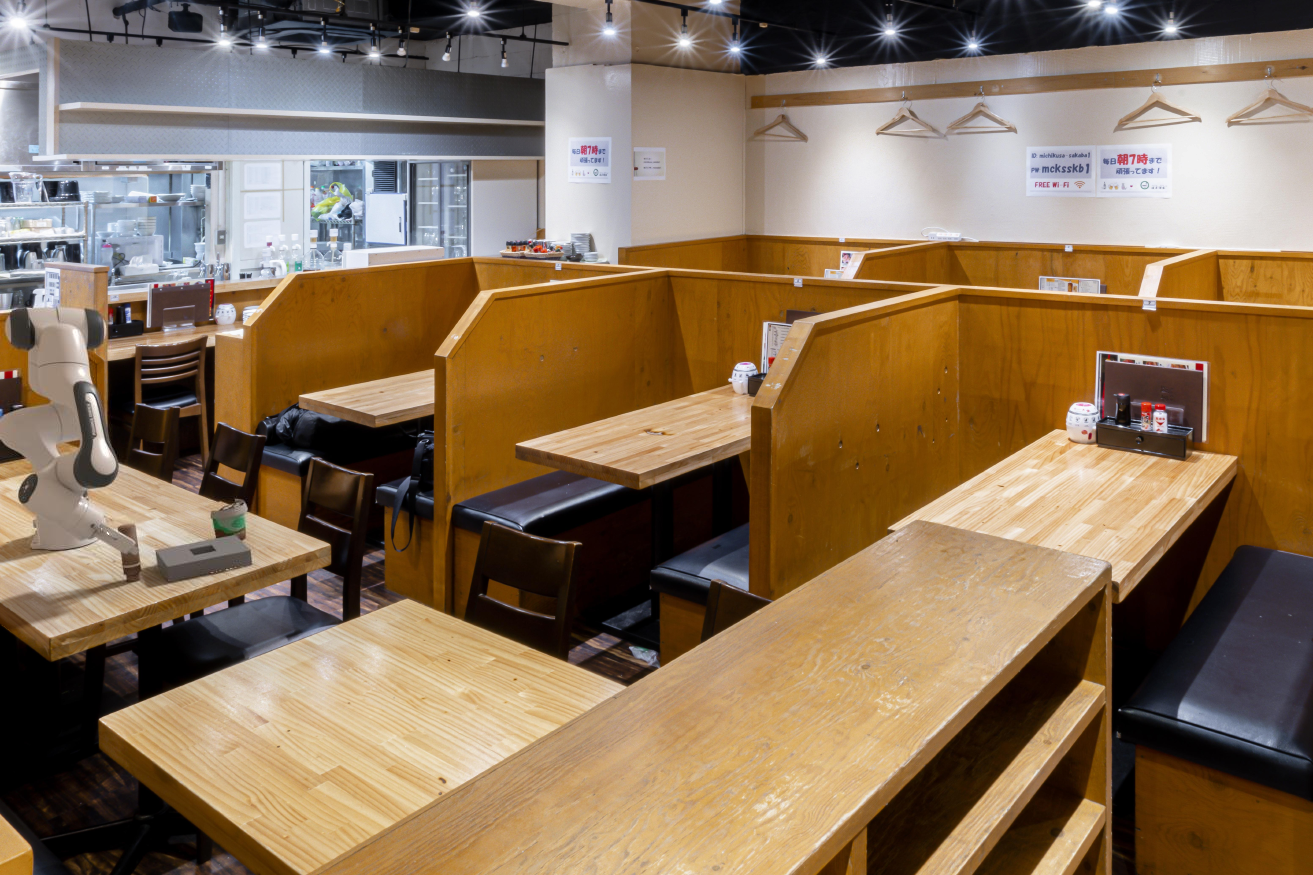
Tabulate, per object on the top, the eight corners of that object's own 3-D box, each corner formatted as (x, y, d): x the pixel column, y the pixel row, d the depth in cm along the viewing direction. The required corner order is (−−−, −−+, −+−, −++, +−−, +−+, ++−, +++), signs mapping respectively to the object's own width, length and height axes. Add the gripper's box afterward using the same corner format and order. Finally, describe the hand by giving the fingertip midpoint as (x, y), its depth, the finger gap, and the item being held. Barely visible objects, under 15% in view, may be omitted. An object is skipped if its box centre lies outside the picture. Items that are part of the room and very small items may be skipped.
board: (157, 564, 274) (155, 550, 273) (237, 548, 285) (235, 534, 284) (169, 581, 262) (167, 566, 261) (252, 564, 273) (250, 550, 272)
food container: (234, 547, 286) (230, 512, 284) (213, 546, 287) (209, 511, 285) (259, 533, 298) (255, 499, 295) (239, 531, 299) (236, 498, 297)
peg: (122, 579, 264) (115, 525, 261) (141, 575, 266) (134, 522, 263) (125, 584, 261) (118, 530, 257) (144, 580, 263) (137, 527, 260)
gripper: (110, 519, 247) (157, 547, 256) (77, 502, 260) (123, 529, 270) (92, 542, 245) (141, 570, 254) (60, 523, 258) (108, 550, 268)
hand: (132, 549), depth 262 cm, fingers open, 4 cm apart
